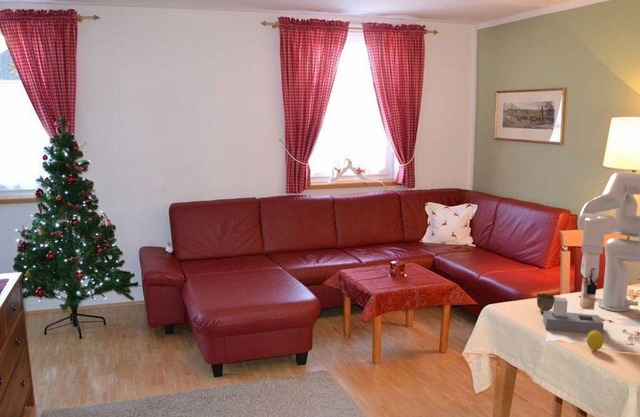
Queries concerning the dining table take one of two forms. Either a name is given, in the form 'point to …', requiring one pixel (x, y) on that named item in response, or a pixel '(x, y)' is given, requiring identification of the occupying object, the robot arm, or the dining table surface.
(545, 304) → the cup
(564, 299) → the metal plug
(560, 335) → the dining table surface
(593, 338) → the lemon
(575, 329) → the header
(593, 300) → the birch plug
